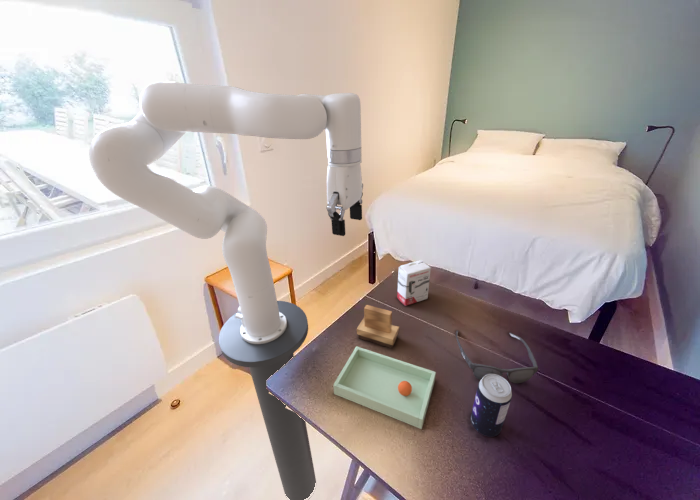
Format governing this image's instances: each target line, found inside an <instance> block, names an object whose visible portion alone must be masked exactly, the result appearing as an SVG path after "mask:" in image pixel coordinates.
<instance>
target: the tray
mask: <svg viewBox="0 0 700 500" xmlns="http://www.w3.org/2000/svg"><path fill="white" fill-rule="evenodd" d="M436 374H437V372H436V371H434V370H431V369H429V368H425V367H422V366H418V365H416V364H412V363H409V362H406V361H404V360H400V359H397V358H394V357H391V356H388V355H385V354H382V353H379V352H375V351H372V350H369V349H366V348H364V347H361V346H357V345H356V346H355V348H353V351H352V352H351V354H350V356H349V358H348V359H347V361H346V363H345V364H344V366H343V368H342V370H341V371H340V373H339V375H338V376H337V377H336V379H335V381H334V383H333V395H336V396H338V397H341V398H343V399H345V400H347V401H350V402H353V403H355V404H358V405H360V406H363V407H365V408H367V409H370V410H373V411H375V412H377V413H380V414H383V415H385V416H388V417H390V418H393V419H394V420H398V421H400V422H402V423H405V424H408V425H410V426H412V427H415V428H417V429H420V430H422V429H423V426H424V423H425V419H426V414H427V411H428V407H429V403H430V401H431V396H432V393H433V389H434V386H435V382H436V376H437V375H436ZM402 381H407V382H409V383H410V384H411V386H412V392H411V394H410V395H408V396H403V395H401V394H400V393H399V391H398V385H399V383H400V382H402Z"/></svg>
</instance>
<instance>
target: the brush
mask: <svg viewBox="0 0 700 500" xmlns="http://www.w3.org/2000/svg"><path fill="white" fill-rule="evenodd" d="M363 315H364V316H363V318H362V320H361V321H360V323H359V324H358V326H357V328H356V335H358V339H361V340H364V341H366V342H371V343H373V344H377V345H379V346H384V347H386V348H390V349H393V347H394V345H395V343H396V340H397V338H398V335H399V333H400V326H397V325H393V324H392V323H393V311H392V310H388V309H384V308H380V307H377V306H373V305H370V304H365V306H364V308H363Z"/></svg>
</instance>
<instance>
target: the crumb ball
mask: <svg viewBox="0 0 700 500" xmlns="http://www.w3.org/2000/svg"><path fill="white" fill-rule="evenodd" d="M398 391H399V393H400V394H401V395H403V396H408V395H410V394H411V392H412V386H411V384H410V383H409V382H407V381H402V382H400V383H399V385H398Z"/></svg>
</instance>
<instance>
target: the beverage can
mask: <svg viewBox="0 0 700 500" xmlns="http://www.w3.org/2000/svg"><path fill="white" fill-rule="evenodd" d="M512 398H513V391H512V387H511V384H510V382H509V380H507V379H506V378H505V377H503V376H499V375H496V374H487V375H485V376H484V377H483V378H482V379H481V380H479V381H478V384H477V389H476V393H475V397H474V400H473V405H472V409H471V413H470V424H471V426H472V427H473V428H474V429H475V430H476V432H478V433H479V434H480V435H482V436H485V437H489V438H493V437H496V436H498V435H500V434H501V432H502V429H503V426H504V423H505V420H506V418H507V417H506V416H507V414H508V411H509V408H510V405H511V401H512Z"/></svg>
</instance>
